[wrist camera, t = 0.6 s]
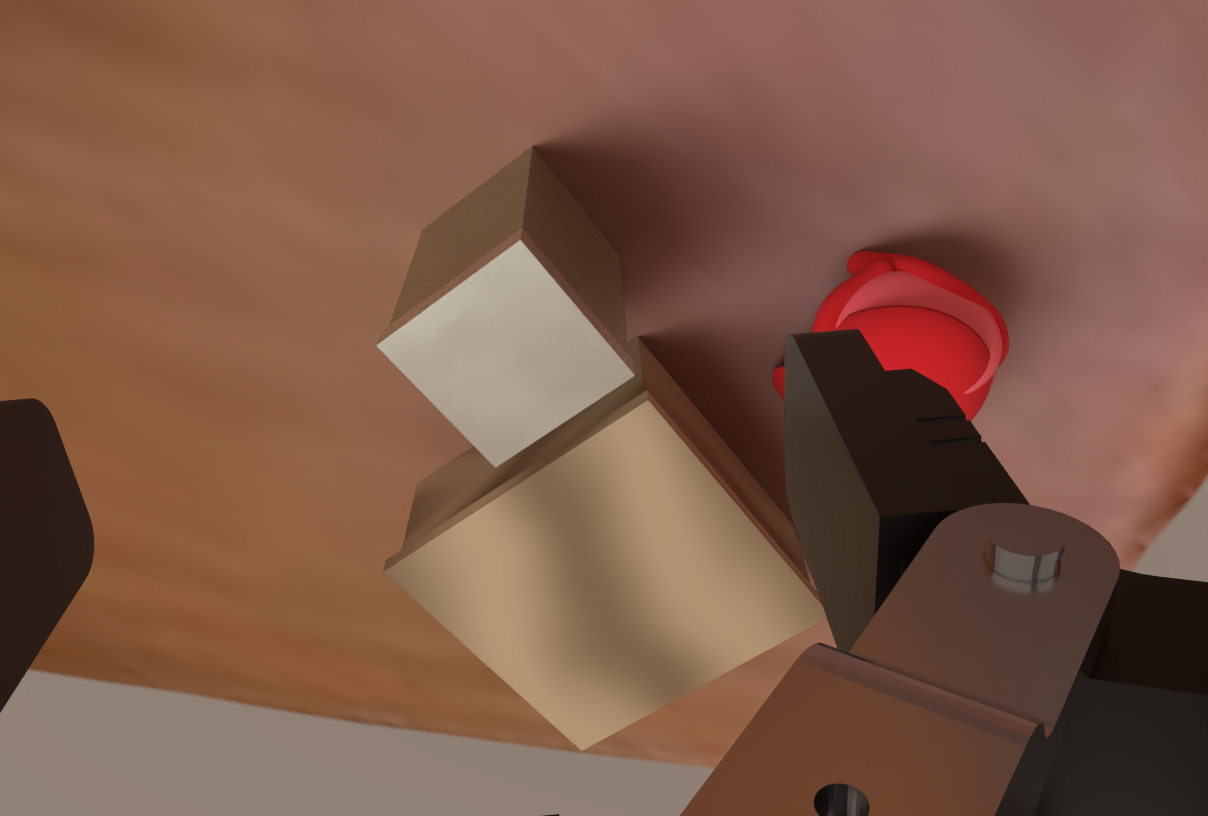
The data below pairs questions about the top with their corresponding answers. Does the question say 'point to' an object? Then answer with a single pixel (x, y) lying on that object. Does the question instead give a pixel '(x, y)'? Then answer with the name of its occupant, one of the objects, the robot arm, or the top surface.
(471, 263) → the tea tin
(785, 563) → the beige flat block
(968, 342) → the cap
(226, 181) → the top surface
